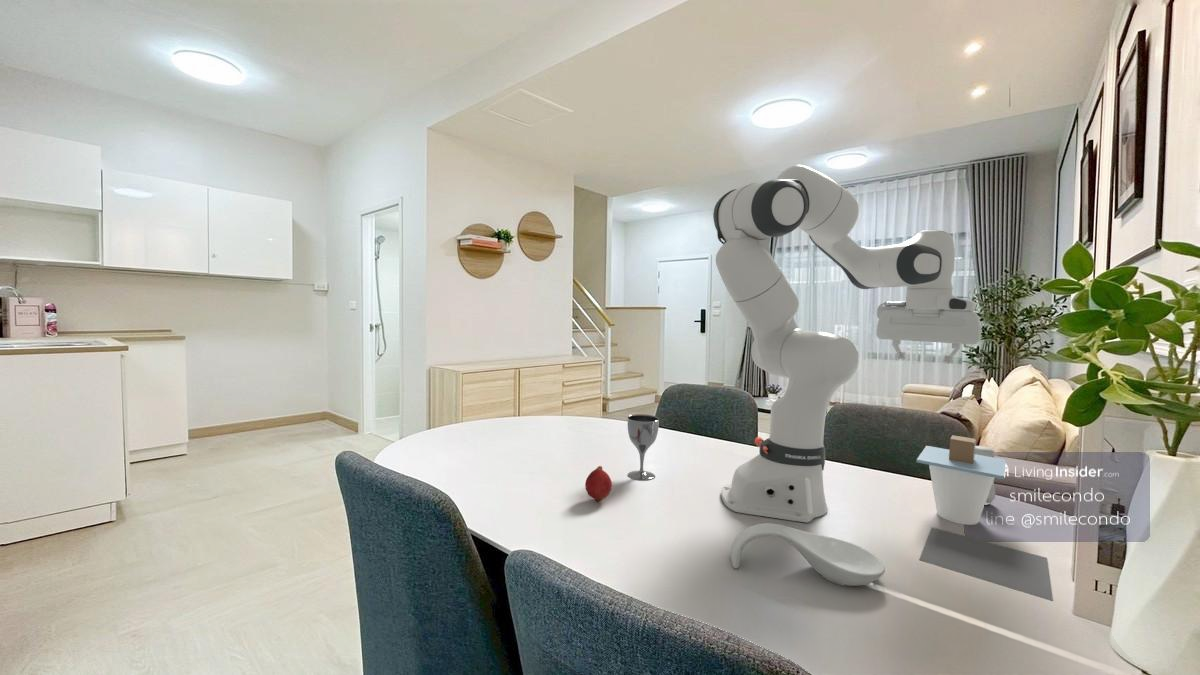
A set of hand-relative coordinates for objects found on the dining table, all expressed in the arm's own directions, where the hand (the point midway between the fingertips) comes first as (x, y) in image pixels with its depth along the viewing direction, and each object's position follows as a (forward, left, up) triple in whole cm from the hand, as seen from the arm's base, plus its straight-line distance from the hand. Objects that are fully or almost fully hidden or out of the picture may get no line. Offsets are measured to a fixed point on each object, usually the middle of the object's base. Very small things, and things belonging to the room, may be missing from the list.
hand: (924, 361), depth 113 cm
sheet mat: (-4, -31, -32) cm, 45 cm away
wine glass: (-65, +1, -32) cm, 73 cm away
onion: (-74, -17, -32) cm, 83 cm away
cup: (+2, -13, -32) cm, 35 cm away
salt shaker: (+13, -2, -32) cm, 35 cm away
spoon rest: (-37, -40, -33) cm, 63 cm away
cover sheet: (+2, -13, -20) cm, 24 cm away
